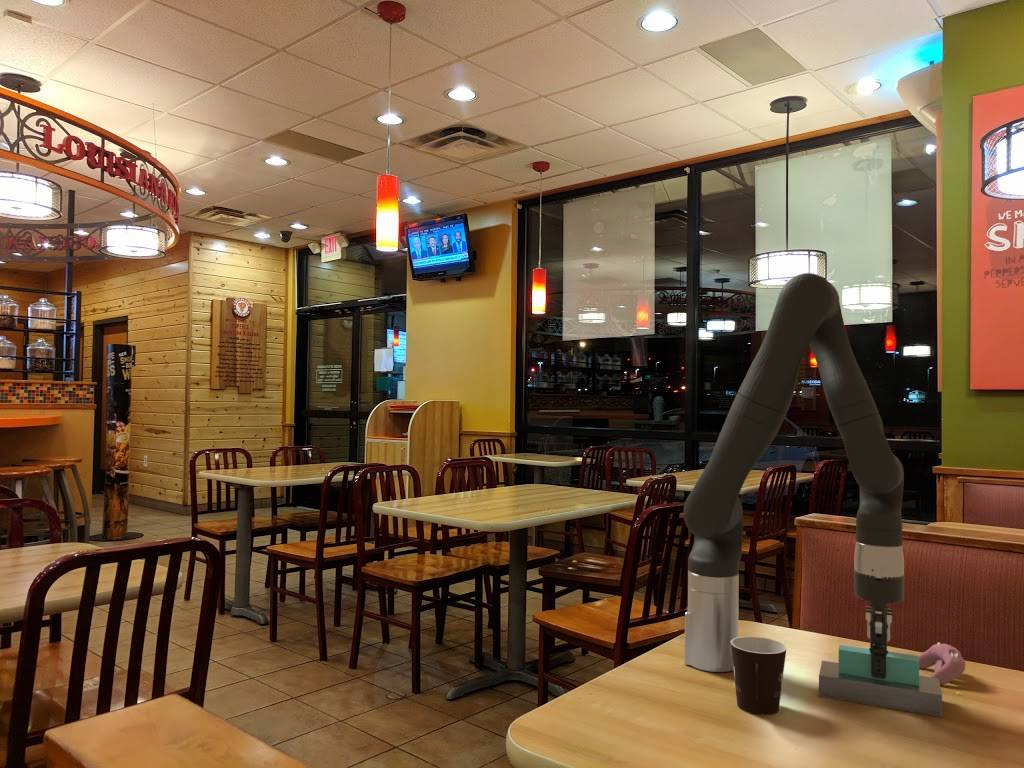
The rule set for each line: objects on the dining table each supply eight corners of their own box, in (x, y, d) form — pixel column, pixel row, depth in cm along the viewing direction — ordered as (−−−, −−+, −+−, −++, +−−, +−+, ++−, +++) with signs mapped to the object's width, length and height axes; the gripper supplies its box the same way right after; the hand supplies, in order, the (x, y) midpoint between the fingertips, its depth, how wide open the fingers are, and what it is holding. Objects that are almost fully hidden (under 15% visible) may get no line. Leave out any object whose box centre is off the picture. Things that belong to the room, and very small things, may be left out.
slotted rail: (818, 696, 126) (818, 675, 126) (822, 680, 133) (822, 660, 133) (942, 717, 118) (942, 695, 118) (938, 699, 125) (938, 678, 125)
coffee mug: (746, 692, 127) (746, 633, 127) (795, 707, 121) (795, 645, 121) (710, 711, 119) (710, 648, 119) (761, 729, 112) (761, 662, 113)
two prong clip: (838, 691, 126) (838, 649, 127) (839, 685, 129) (839, 644, 129) (919, 704, 121) (919, 661, 121) (918, 698, 124) (918, 655, 124)
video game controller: (955, 696, 130) (975, 661, 130) (930, 682, 131) (949, 648, 131) (934, 676, 140) (952, 643, 139) (910, 663, 141) (928, 631, 140)
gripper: (855, 559, 134) (855, 656, 133) (852, 576, 121) (852, 682, 121) (902, 564, 130) (902, 663, 130) (905, 581, 118) (905, 691, 117)
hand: (878, 672), depth 125 cm, fingers open, 4 cm apart
